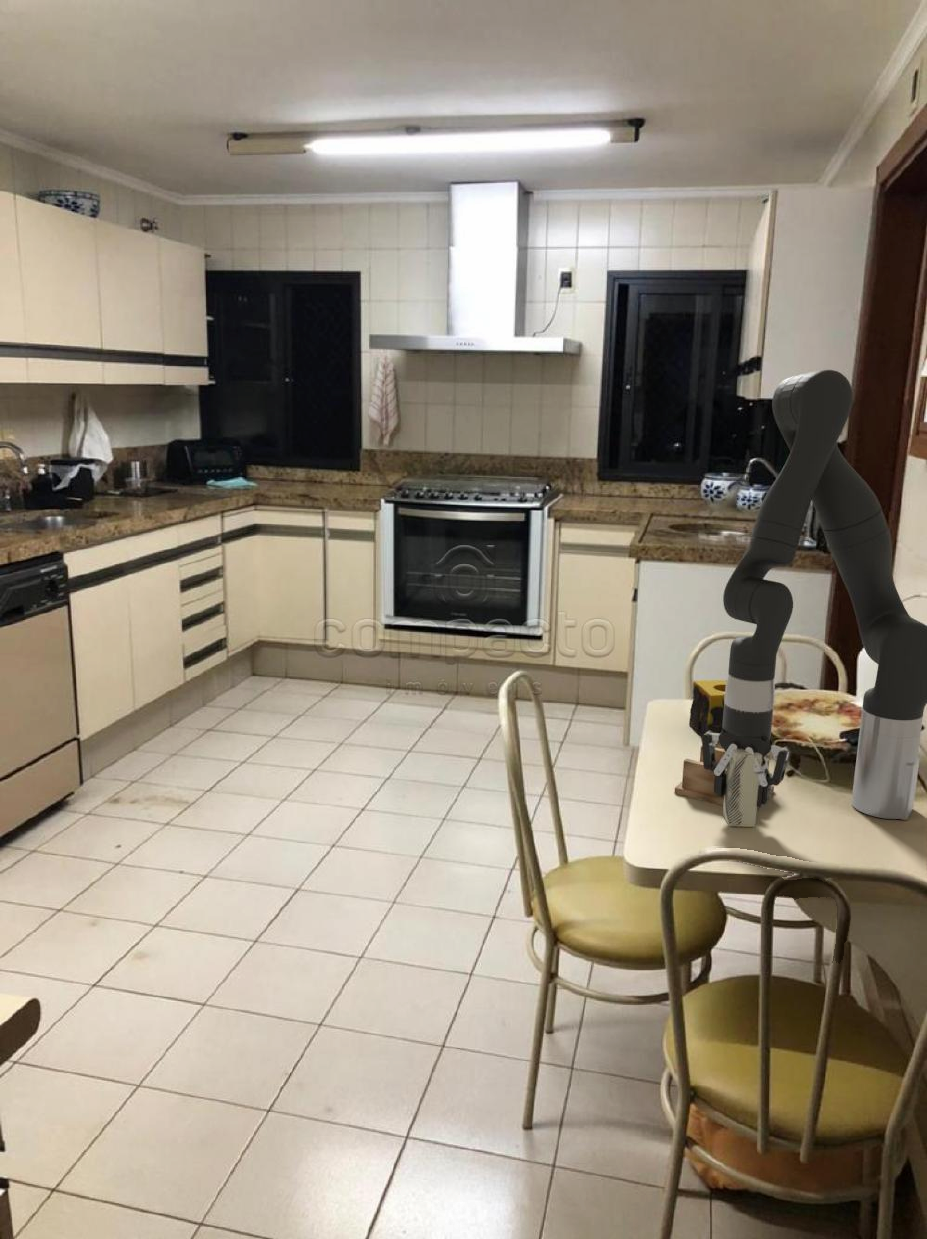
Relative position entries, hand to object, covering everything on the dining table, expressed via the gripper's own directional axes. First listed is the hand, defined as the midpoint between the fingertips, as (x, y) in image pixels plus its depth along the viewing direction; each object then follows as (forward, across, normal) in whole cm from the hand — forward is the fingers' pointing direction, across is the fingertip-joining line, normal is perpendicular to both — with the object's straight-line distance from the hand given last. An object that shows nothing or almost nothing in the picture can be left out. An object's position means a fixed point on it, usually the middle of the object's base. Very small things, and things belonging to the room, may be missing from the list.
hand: (740, 800), depth 156 cm
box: (+4, 0, 0) cm, 4 cm away
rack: (+4, +6, -10) cm, 12 cm away
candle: (+4, +17, -39) cm, 43 cm away
